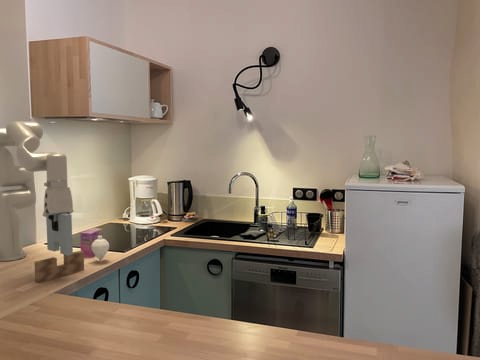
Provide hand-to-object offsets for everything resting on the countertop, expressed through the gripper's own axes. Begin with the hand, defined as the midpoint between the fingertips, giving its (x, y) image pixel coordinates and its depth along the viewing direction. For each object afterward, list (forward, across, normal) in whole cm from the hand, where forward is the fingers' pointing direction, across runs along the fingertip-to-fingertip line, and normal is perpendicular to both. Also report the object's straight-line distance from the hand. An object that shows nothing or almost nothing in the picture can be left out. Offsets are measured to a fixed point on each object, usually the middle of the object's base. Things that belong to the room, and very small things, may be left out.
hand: (59, 229), depth 170 cm
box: (+19, +26, +16) cm, 36 cm away
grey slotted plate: (+9, 0, 0) cm, 9 cm away
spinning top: (+19, +21, +3) cm, 29 cm away
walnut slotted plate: (+19, 0, 0) cm, 19 cm away
